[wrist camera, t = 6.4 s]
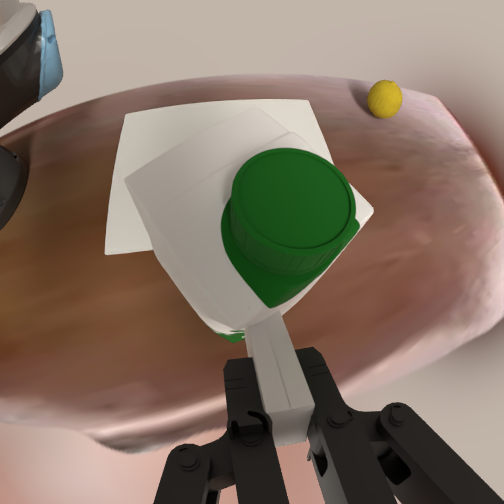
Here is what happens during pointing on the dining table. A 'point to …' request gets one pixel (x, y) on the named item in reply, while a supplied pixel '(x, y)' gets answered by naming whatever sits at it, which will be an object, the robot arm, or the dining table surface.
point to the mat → (174, 133)
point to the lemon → (384, 99)
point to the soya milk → (245, 219)
